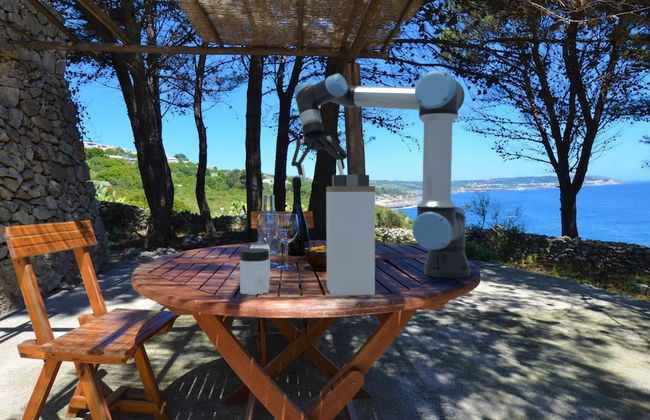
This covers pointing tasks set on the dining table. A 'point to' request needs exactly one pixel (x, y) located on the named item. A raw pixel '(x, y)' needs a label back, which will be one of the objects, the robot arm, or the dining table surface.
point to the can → (264, 246)
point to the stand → (350, 240)
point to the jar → (254, 271)
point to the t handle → (350, 180)
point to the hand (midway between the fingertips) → (324, 180)
